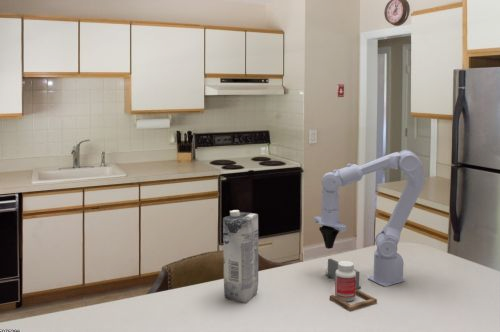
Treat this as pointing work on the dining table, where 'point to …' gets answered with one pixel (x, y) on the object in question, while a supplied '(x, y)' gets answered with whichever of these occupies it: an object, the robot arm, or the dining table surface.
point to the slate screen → (334, 266)
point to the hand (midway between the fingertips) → (329, 247)
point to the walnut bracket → (356, 306)
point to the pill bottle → (345, 281)
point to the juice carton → (240, 255)
